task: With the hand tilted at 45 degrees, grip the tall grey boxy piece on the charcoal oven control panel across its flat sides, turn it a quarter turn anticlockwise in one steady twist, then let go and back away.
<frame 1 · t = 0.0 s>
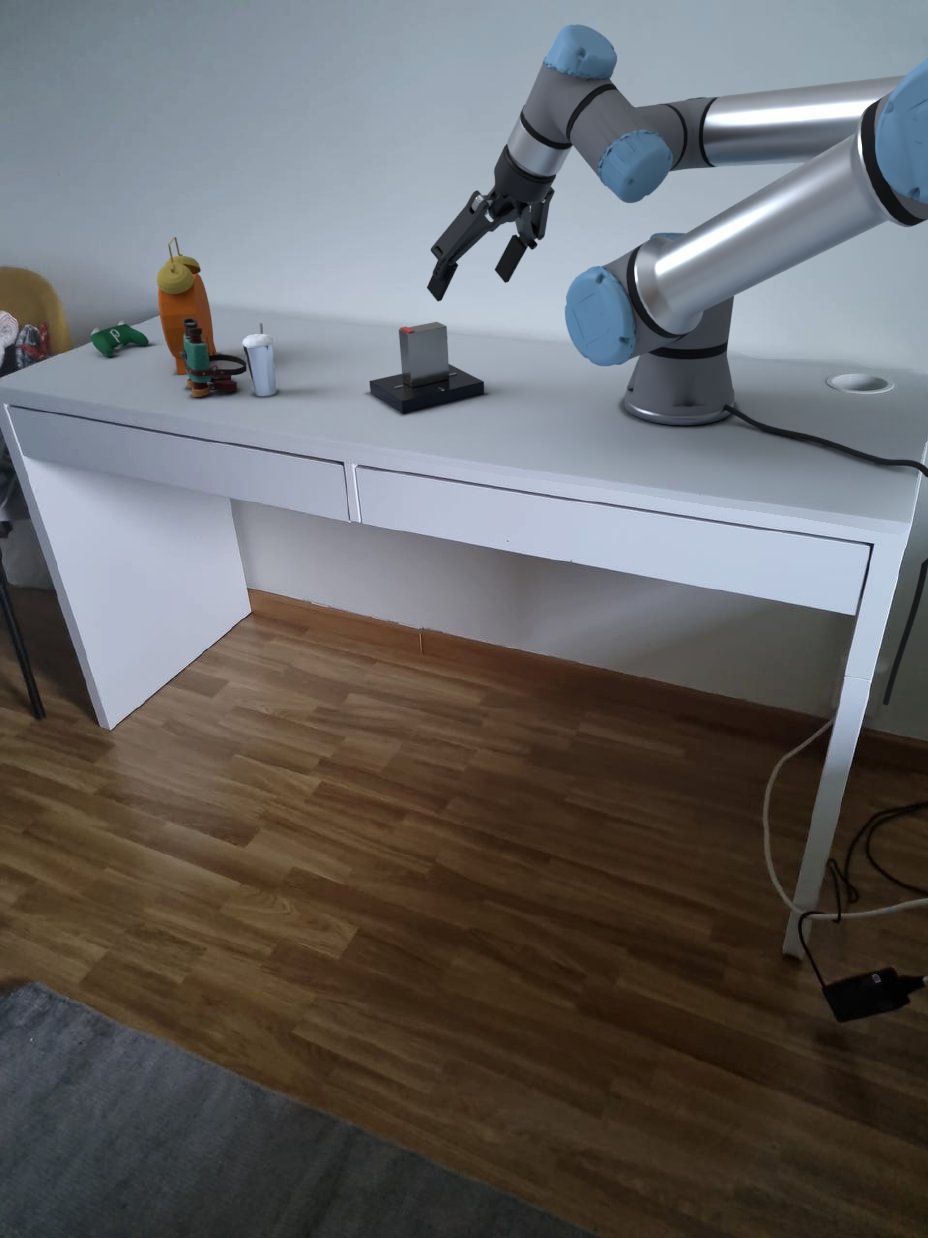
hand: (468, 284, 130), 15 cm above the table, tool tilted 35°, fingers open, 13 cm apart
binoculars: (218, 388, 143), on the table
milkshake: (267, 393, 140), on the table
grey boxy piece: (424, 353, 133), point 6 cm above the table, hinge at 0.0°
gaming controller: (120, 350, 163), on the table
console: (426, 393, 137), on the table
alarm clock: (197, 364, 154), on the table
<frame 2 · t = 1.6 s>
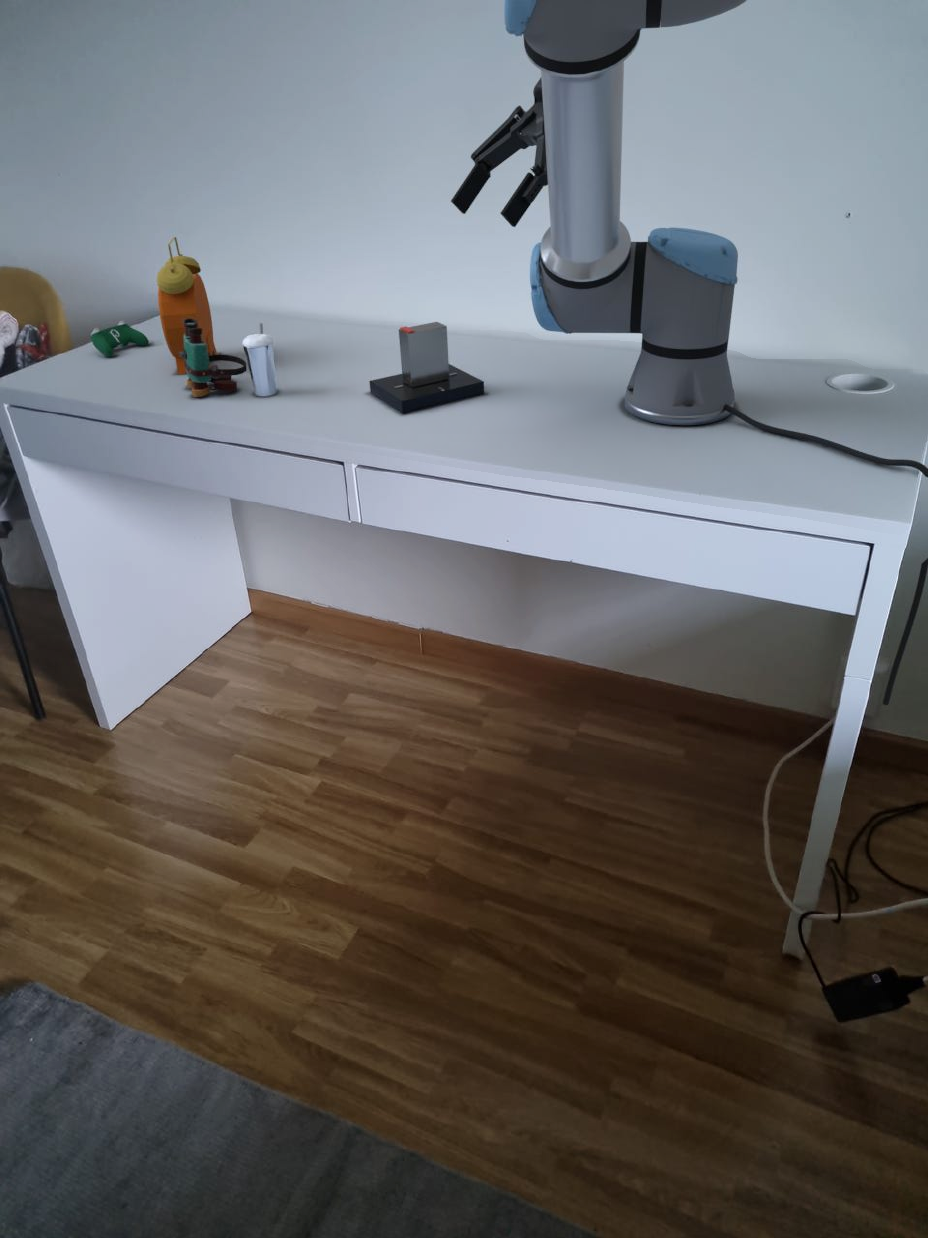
hand: (481, 213, 128), 24 cm above the table, tool tilted 45°, fingers open, 13 cm apart
nothing on the table moved.
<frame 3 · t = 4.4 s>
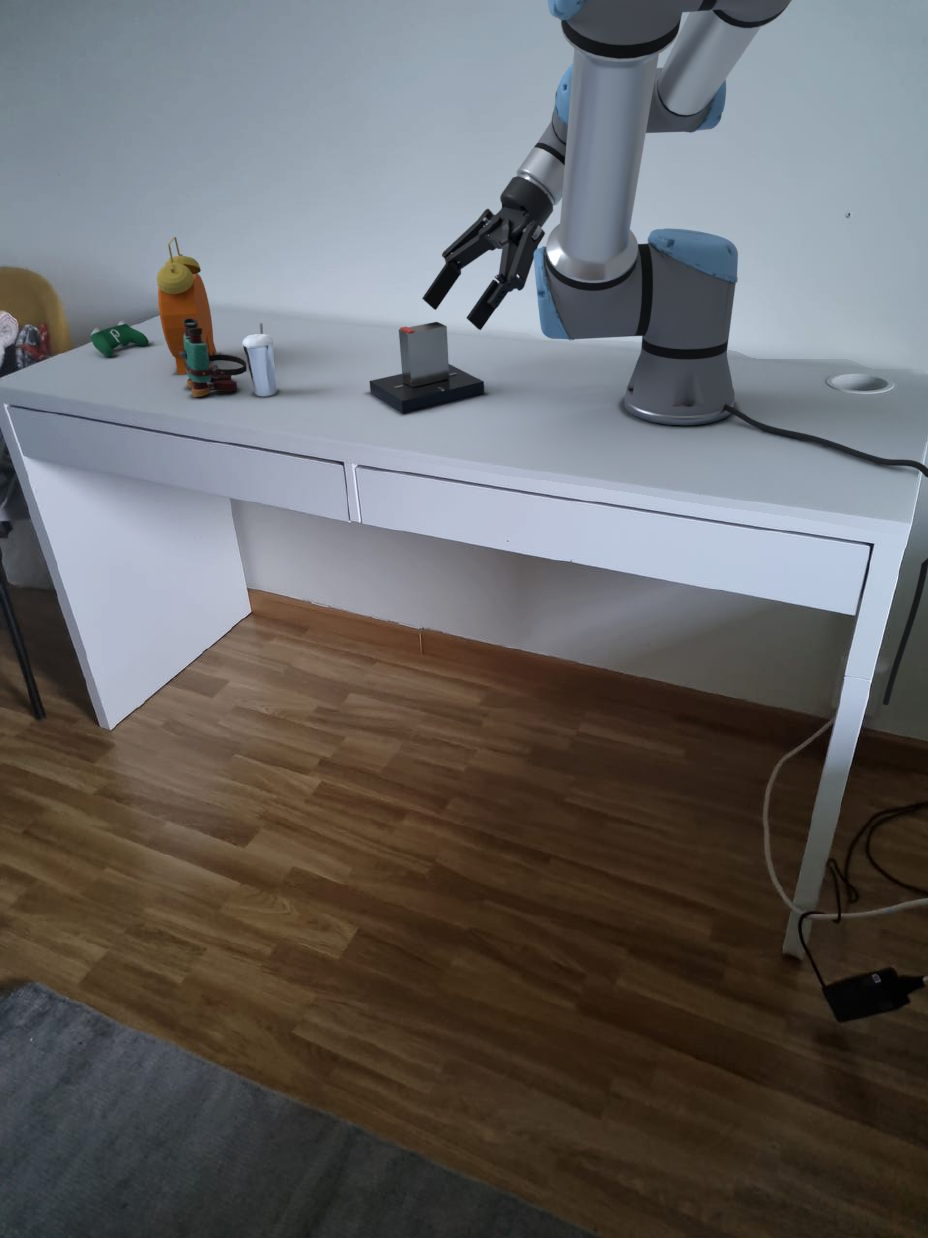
hand: (450, 314, 133), 11 cm above the table, tool tilted 45°, fingers open, 13 cm apart
nothing on the table moved.
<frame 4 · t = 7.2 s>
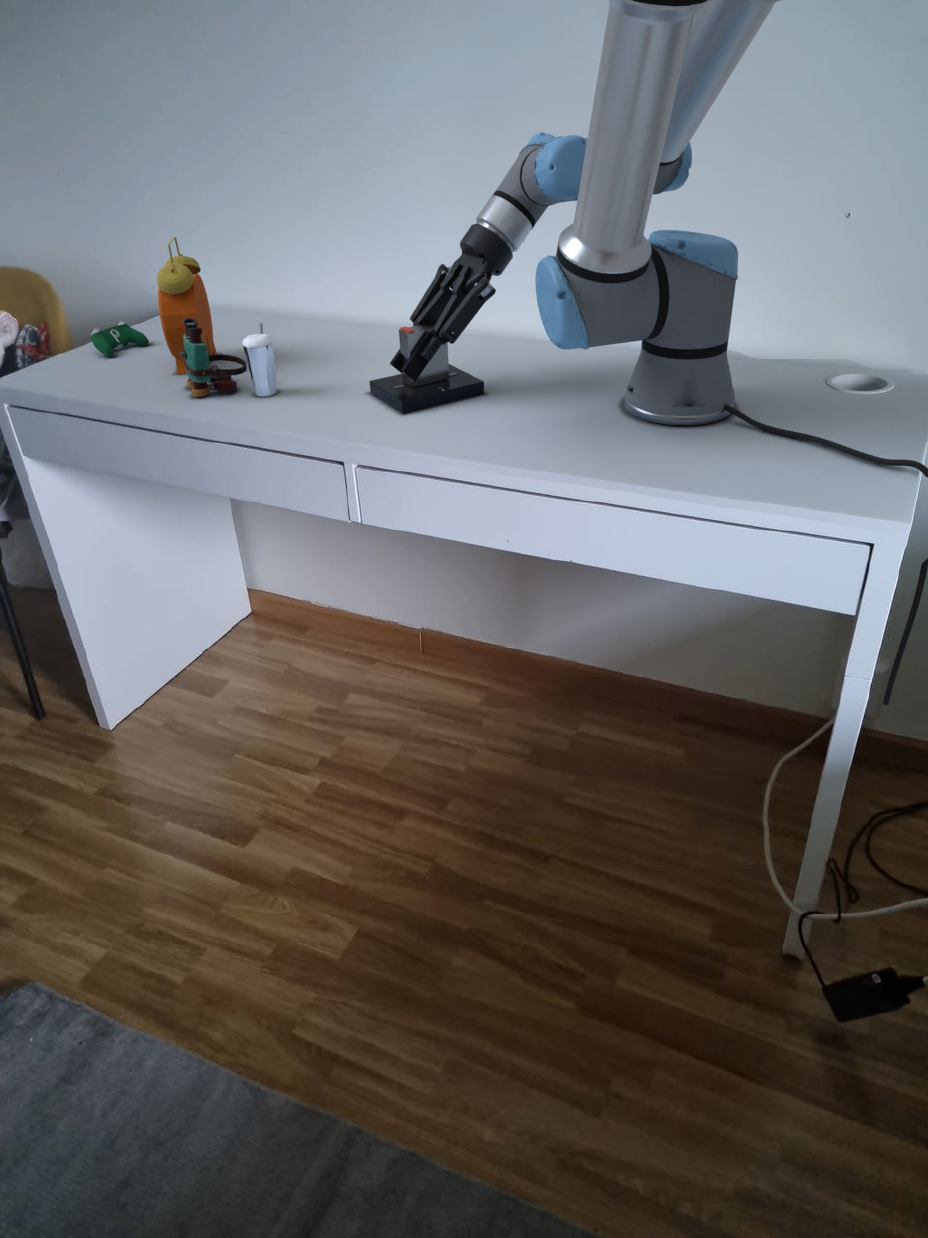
hand: (402, 372, 133), 4 cm above the table, tool tilted 45°, fingers closed on grey boxy piece, 3 cm apart
grey boxy piece: (424, 353, 133), point 6 cm above the table, hinge at -0.1°, touching gripper
everything else where it was.
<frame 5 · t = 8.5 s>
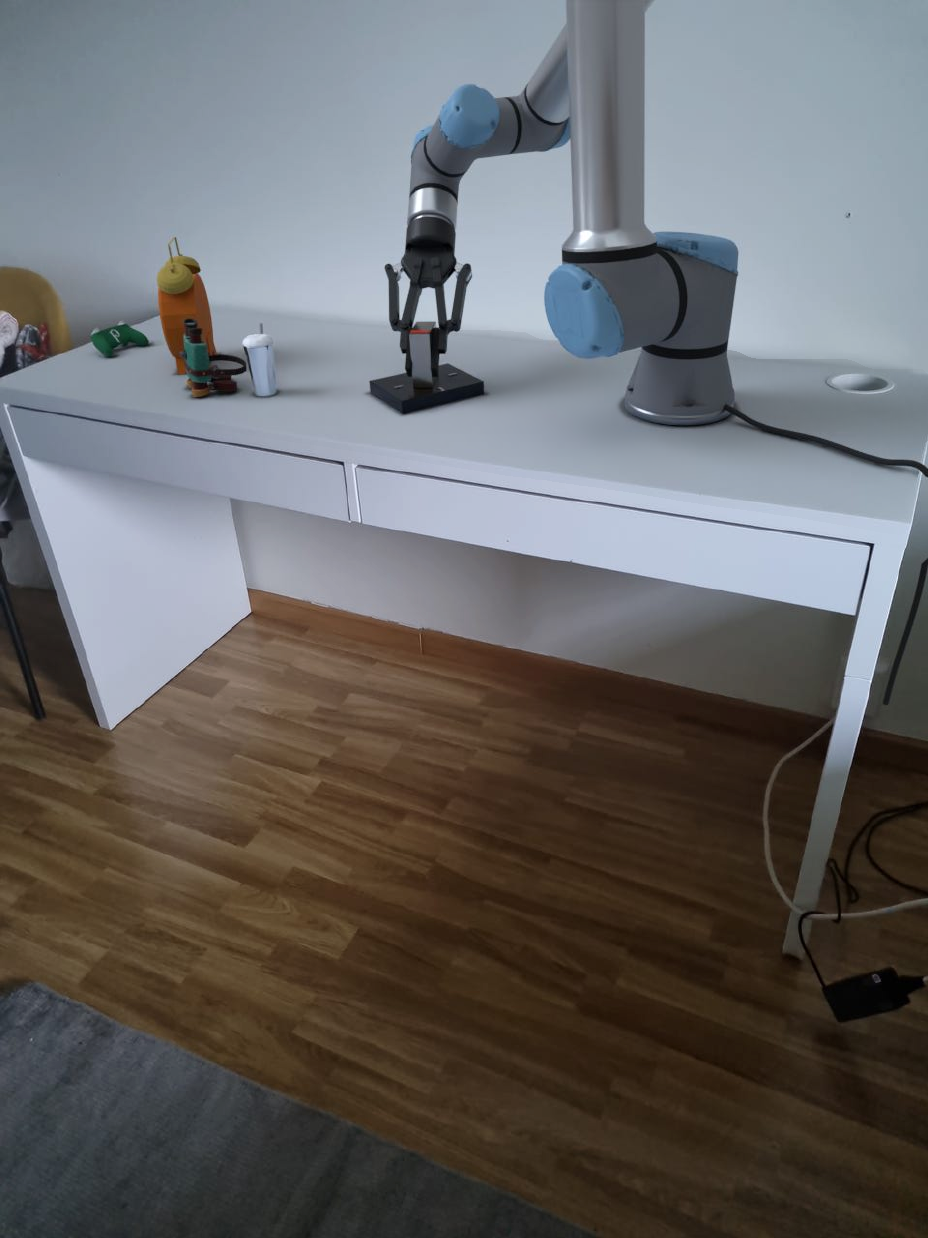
hand: (421, 372, 131), 4 cm above the table, tool tilted 45°, fingers closed on grey boxy piece, 3 cm apart
grey boxy piece: (424, 353, 133), point 6 cm above the table, hinge at 52.7°, touching gripper
everything else where it was.
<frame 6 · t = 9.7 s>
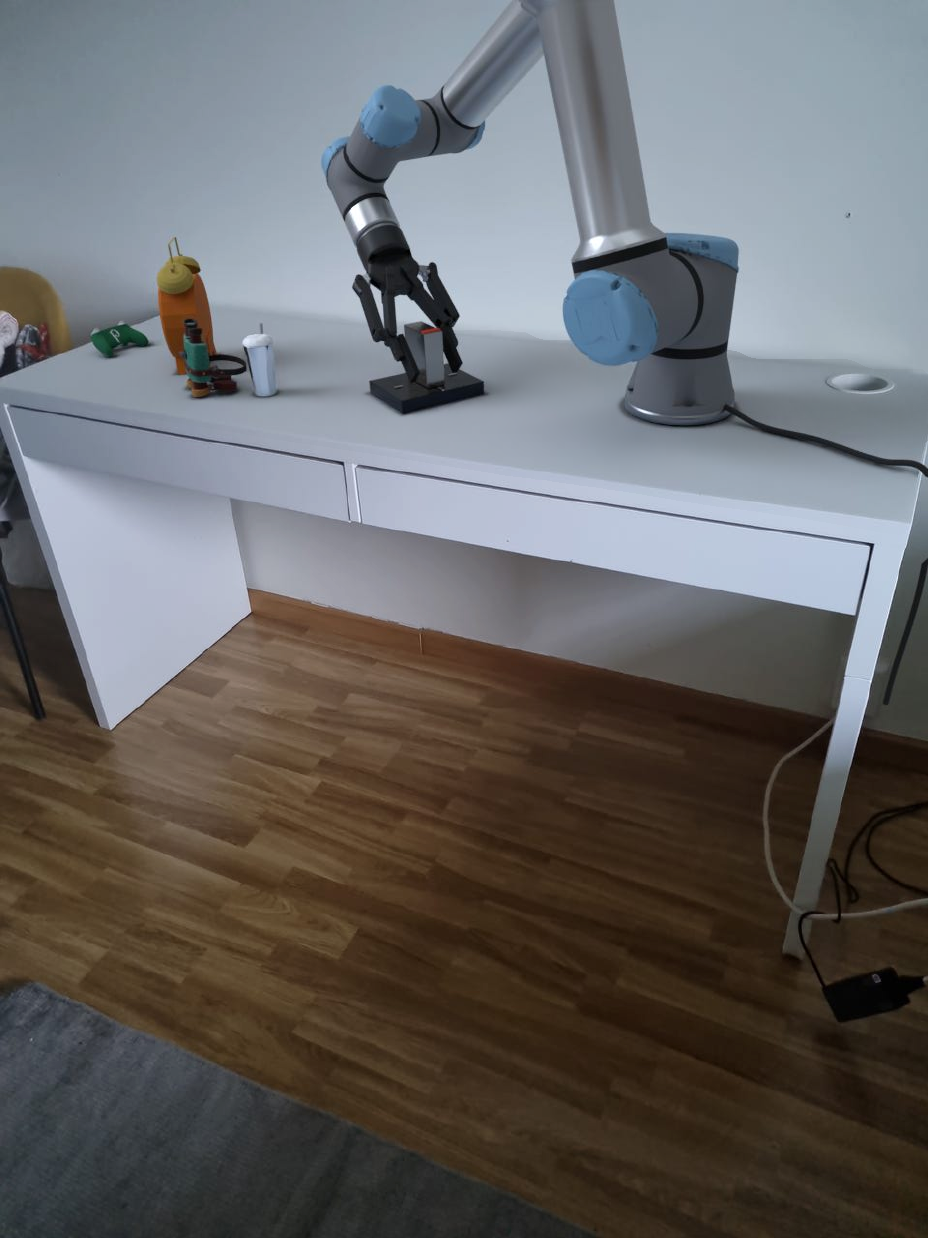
hand: (436, 372, 132), 4 cm above the table, tool tilted 45°, fingers open, 6 cm apart
grey boxy piece: (424, 353, 133), point 6 cm above the table, hinge at 89.5°
everything else where it was.
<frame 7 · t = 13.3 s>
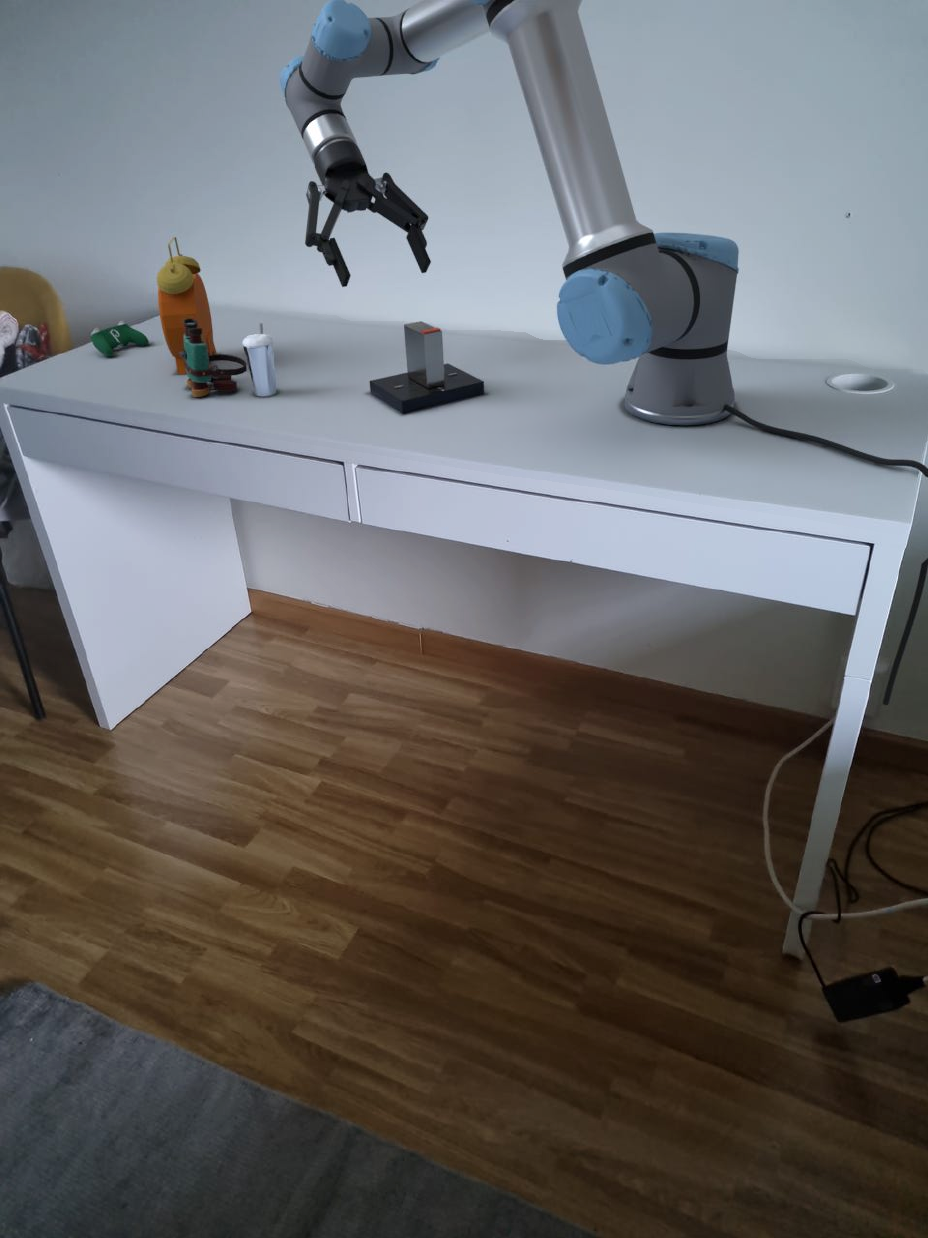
hand: (387, 274, 136), 16 cm above the table, tool tilted 45°, fingers open, 13 cm apart
nothing on the table moved.
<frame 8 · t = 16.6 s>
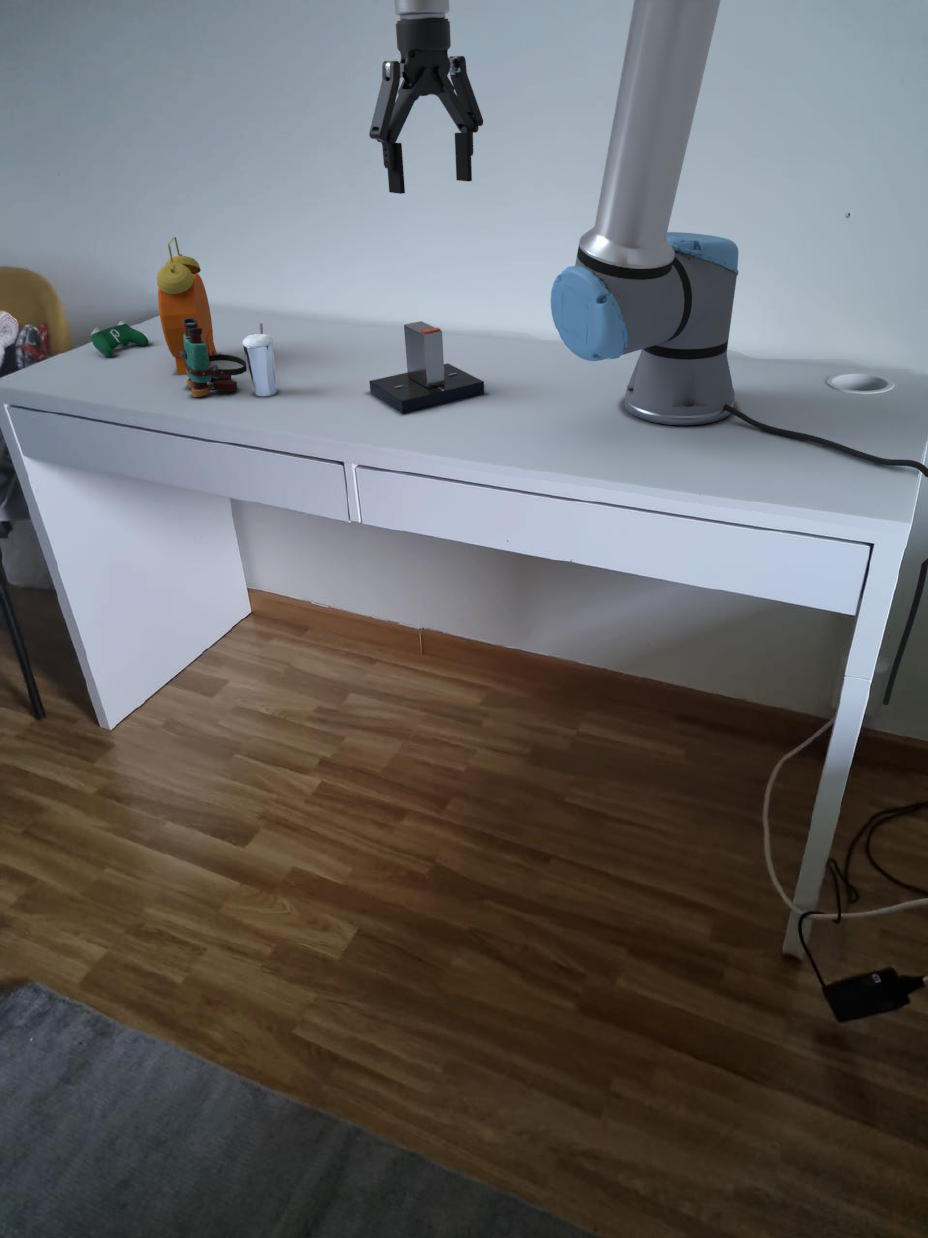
hand: (431, 186, 135), 27 cm above the table, tool pointing down, fingers open, 13 cm apart
nothing on the table moved.
at the end: grey boxy piece at +90° (first picture: +0°); the gripper is holding nothing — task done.
